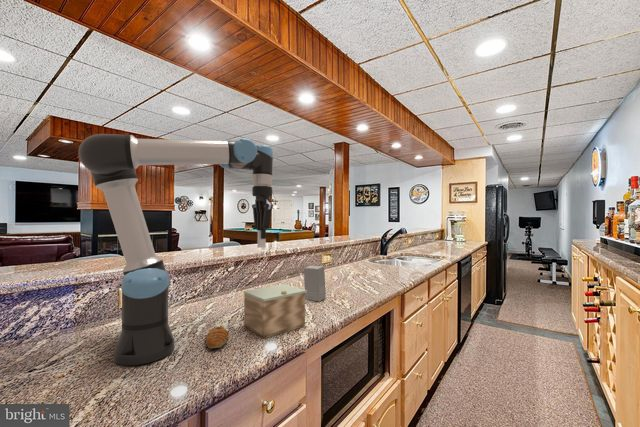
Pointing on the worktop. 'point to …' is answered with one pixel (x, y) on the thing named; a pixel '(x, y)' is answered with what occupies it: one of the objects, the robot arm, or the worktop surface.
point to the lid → (274, 292)
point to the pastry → (216, 337)
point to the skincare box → (314, 283)
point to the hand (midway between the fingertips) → (261, 247)
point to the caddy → (274, 315)
